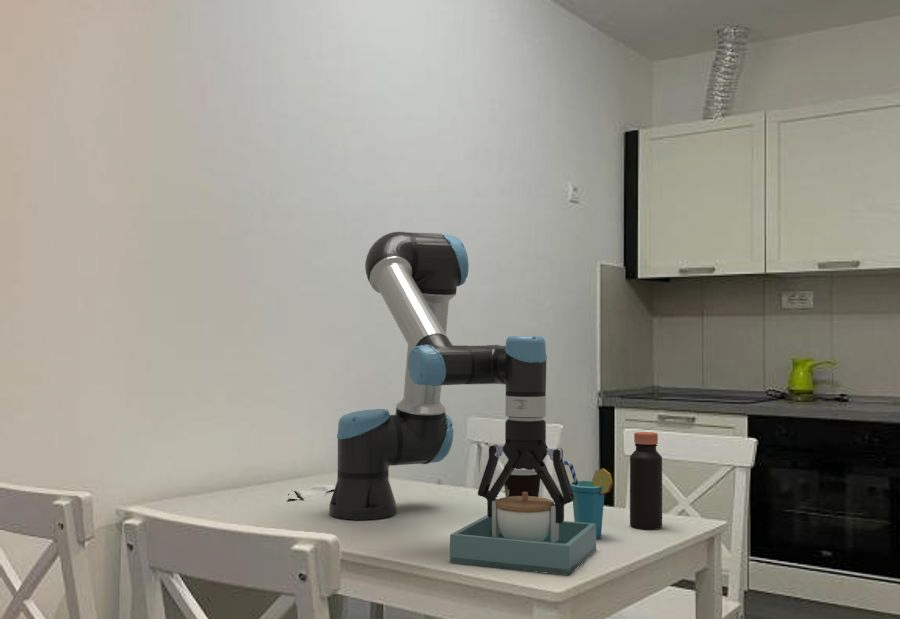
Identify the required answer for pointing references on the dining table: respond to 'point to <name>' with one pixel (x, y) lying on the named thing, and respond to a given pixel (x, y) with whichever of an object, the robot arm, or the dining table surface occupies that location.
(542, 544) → the tote
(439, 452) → the robot arm
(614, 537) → the dining table surface
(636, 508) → the bottle
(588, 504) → the cup
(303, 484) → the dining table surface
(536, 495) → the coffee mug
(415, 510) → the dining table surface
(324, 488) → the cloth
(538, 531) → the lidded jar
